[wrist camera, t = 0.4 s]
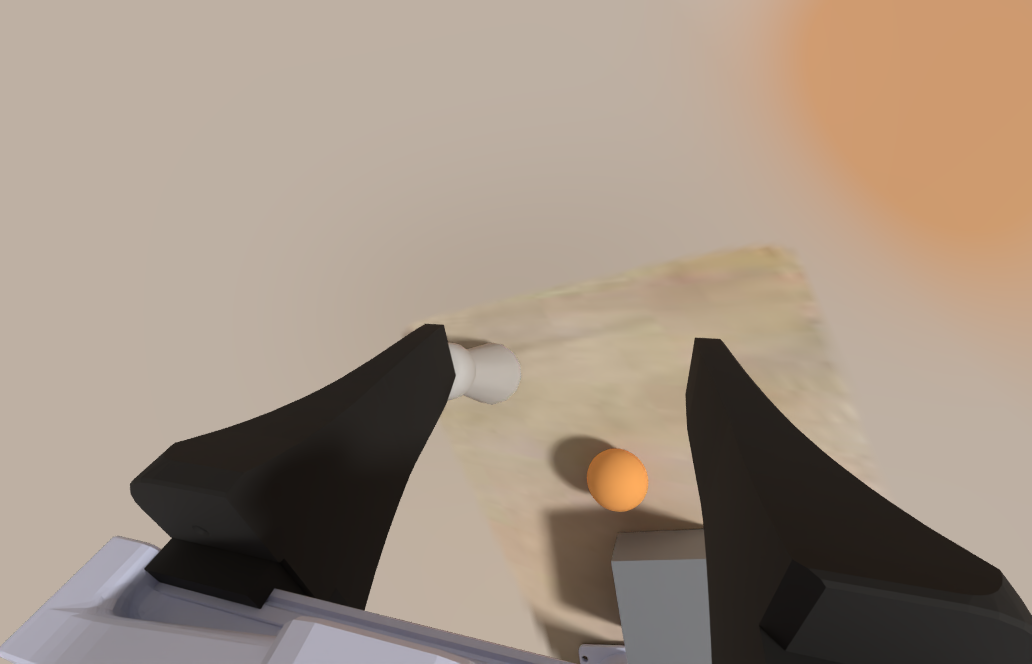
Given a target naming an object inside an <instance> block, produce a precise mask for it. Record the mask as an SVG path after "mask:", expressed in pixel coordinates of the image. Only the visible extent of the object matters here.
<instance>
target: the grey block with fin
mask: <svg viewBox="0 0 1032 664" xmlns="http://www.w3.org/2000/svg"><path fill="white" fill-rule="evenodd" d="M611 565H612V571H613V577H614V583H615V589H616V595H617V602H618V608H619V614H620V620H621V626H622V632H623V638H624V645H625V651H626V657H627V663H628V664H712V659H711V636H710V617H709V597H708V582H707V566H706V552H705V539H704V529H690V530H667V531H643V532H620V533H618V534H617V539H616V543H615V547H614V551H613V555H612V559H611Z"/></svg>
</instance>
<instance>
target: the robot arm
mask: <svg viewBox="0 0 1032 664" xmlns="http://www.w3.org/2000/svg"><path fill="white" fill-rule="evenodd" d="M455 377H456V373H455V369H454V365H453V361H452V357H451V353H450V349H449V345H448V340H447V336H446V332H445V328H444V325H438V324H425V325H423V326H421V327H419V328H418V329H416V330H415V331H413V332H411V333H410V334H408V335H407V336H405V337H404V338H402V339H401V340H400V341H398V342H397V343H395V344H394V345H392V346H391V347H389V348H388V349H386V350H385V351H383V352H382V353H380V354H379V355H377V356H376V357H374V358H373V359H371V360H370V361H368V362H366V363H365V364H363V365H361V366H360V367H358V368H357V369H355V370H353V371H352V372H350V373H348V374H347V375H345V376H344V377H342V378H340V379H338V380H337V381H335V382H333V383H331V384H330V385H327V386H326V387H324V388H322V389H320V390H318V391H316V392H314V393H312V394H310V395H308V396H306V397H304V398H302V399H299V400H297V401H294V402H292V403H290V404H288V405H285V406H283V407H281V408H278V409H276V410H274V411H272V412H269V413H267V414H264V415H261V416H259V417H256V418H253V419H251V420H248V421H245V422H242V423H240V424H237V425H234V426H231V427H228V428H225V429H221V430H218V431H215V432H211V433H208V434H205V435H201V436H198V437H194V438H191V439H187V440H184V441H180V442H177V443H174V444H173V445H172V446H170V447H169V448H168V449H167V450H166V451H165V452H164V453H163V454H162V455H161V456H159V457H158V458H157V459H156V460H155V461H154V462H153V463H152V464H150V465H149V466H148V467H147V468H146V469H145V470H144V471H143V472H141V473H140V474H139V475H138V476H137V477H136V478H135V479H134V480H133V481H132V482H131V483H130V491H131V495H132V497H133V499H134V500H135V502H136V503H137V504H138V505H139V506H140V507H141V509H142V510H143V511H144V512H145V513H146V514H148V515H149V516H150V517H151V518H152V519H153V520H154V521H155V522H156V523H157V524H158V525H159V526H160V527H161V528H162V529H163V530H164V531H165V532H166V533H167V534H168V535H169V536H170V537H172V539H171V540H170V541H169V542H168V543H167V544H166V545H165V546H164V548H163V549H162V550H161V549H160V548H158V547H156V546H155V545H152V544H150V543H147V542H143V541H138V540H134V539H130V538H125V537H122V536H116V537H113V538H112V539H111V540H110V541H109V542H107V544H106V545H104V546H103V547H102V549H100V550H99V551H98V552H97V553H96V554H95V555H94V556H93V557H92V558H91V559H90V560H89V561H88V562H87V563H86V564H85V565H84V566H83V567H82V568H81V569H80V570H79V571H78V572H77V573H76V574H74V576H73V577H72V578H70V579H69V580H68V581H67V582H66V583H65V584H64V585H63V586H62V587H61V588H60V589H59V590H58V591H57V592H56V593H55V594H54V595H53V596H52V597H51V598H50V599H49V600H48V601H47V602H46V603H45V604H44V605H43V606H41V607H40V608H39V609H38V611H36V612H35V613H34V614H33V615H32V616H31V617H30V618H29V619H28V620H27V621H26V622H25V623H24V624H23V625H22V626H21V627H20V628H19V629H18V630H17V631H16V632H15V633H14V634H13V635H11V636H10V638H8V639H7V640H6V641H5V642H4V643H3V644H2V645H1V646H0V657H1V658H3V659H6V660H8V661H10V662H12V663H14V664H576V663H572V662H568V661H564V660H560V659H556V658H552V657H548V656H544V655H540V654H536V653H532V652H527V651H523V650H519V649H516V648H512V647H507V646H504V645H500V644H496V643H492V642H488V641H484V640H480V639H476V638H472V637H467V636H463V635H459V634H456V633H452V632H448V631H444V630H439V629H435V628H432V627H428V626H424V625H420V624H415V623H412V622H407V621H404V620H400V619H396V618H391V617H387V616H383V615H379V614H375V613H371V612H367V611H364V610H365V606H366V603H367V600H368V596H369V593H370V589H371V586H372V582H373V579H374V575H375V571H376V568H377V566H378V562H379V559H380V556H381V553H382V550H383V547H384V544H385V541H386V538H387V535H388V532H389V529H390V526H391V523H392V521H393V518H394V515H395V512H396V510H397V507H398V504H399V501H400V499H401V497H402V494H403V491H404V489H405V486H406V484H407V481H408V479H409V476H410V474H411V472H412V469H413V468H414V465H415V463H416V461H417V459H418V457H419V455H420V454H421V451H422V450H423V448H424V446H425V444H426V442H427V440H428V438H429V436H430V435H431V433H432V431H433V429H434V427H435V425H436V423H437V421H438V419H439V417H440V415H441V413H442V411H443V409H444V407H445V405H446V403H447V401H448V398H449V395H450V392H451V389H452V386H453V383H454V380H455ZM686 416H687V430H688V436H689V441H690V447H691V452H692V458H693V463H694V469H695V474H696V480H697V485H698V491H699V496H700V502H701V508H702V516H703V525H704V539H705V552H706V566H707V582H708V597H709V617H710V636H711V659H712V664H1032V615H1031V614H1030V612H1029V610H1028V609H1027V607H1026V606H1025V604H1024V602H1023V601H1022V599H1021V598H1020V596H1019V595H1018V594H1017V593H1016V591H1015V590H1014V588H1013V587H1012V586H1011V584H1010V583H1009V582H1008V580H1007V579H1006V577H1005V576H1004V575H1003V573H1002V572H1001V571H1000V570H999V569H997V568H996V567H994V566H993V565H991V564H989V563H988V562H986V561H984V560H983V559H981V558H979V557H977V556H976V555H974V554H972V553H971V552H969V551H967V550H966V549H964V548H962V547H961V546H959V545H957V544H956V543H954V542H952V541H951V540H949V539H947V538H945V537H944V536H942V535H941V534H939V533H937V532H935V531H934V530H932V529H931V528H929V527H927V526H926V525H924V524H923V523H921V522H920V521H918V520H917V519H915V518H914V517H912V516H911V515H909V514H908V513H906V512H904V511H903V510H902V509H900V508H899V507H897V506H896V505H894V504H893V503H891V502H890V501H888V500H887V499H885V498H884V497H882V496H881V495H880V494H878V493H877V492H875V491H874V490H872V489H871V488H870V487H868V486H867V485H866V484H864V483H863V482H862V481H860V480H859V479H858V478H856V477H855V476H854V475H852V474H851V473H850V472H848V471H847V470H846V469H845V468H843V467H842V466H841V465H839V464H838V463H837V462H836V461H834V460H833V459H832V458H831V457H829V456H828V455H827V454H826V453H824V452H823V451H822V450H821V449H820V448H819V447H818V446H816V445H815V444H814V443H813V442H812V441H811V440H810V439H808V438H807V437H806V436H805V435H804V434H803V433H802V432H801V431H799V430H798V429H797V428H796V427H795V426H794V425H793V424H792V423H791V422H790V421H789V420H788V419H787V418H786V417H785V416H784V415H783V414H782V413H781V412H780V411H779V409H778V408H777V407H776V406H775V405H774V404H773V403H772V402H771V401H770V400H769V399H768V398H767V396H766V395H765V394H764V393H763V392H762V391H761V389H760V388H759V387H758V386H757V385H756V384H755V383H754V381H753V380H752V379H751V378H750V377H749V375H748V374H747V373H746V372H745V370H744V369H743V368H742V366H741V365H740V364H739V363H738V361H737V360H736V359H735V357H734V356H733V355H732V353H731V352H730V351H729V349H728V348H727V347H726V345H725V344H724V343H723V342H722V340H721V339H710V338H695V341H694V347H693V353H692V359H691V365H690V371H689V377H688V383H687V389H686ZM583 656H586V657H588V659H587V660H586V659H584V658H583ZM579 658H580V664H628V663H627V657H626V651H625V645H596V644H582V645H581V646H580V647H579Z"/></svg>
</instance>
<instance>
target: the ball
mask: <svg viewBox="0 0 1032 664" xmlns="http://www.w3.org/2000/svg"><path fill="white" fill-rule="evenodd" d="M587 484H588V488H589V491H590V493H591V495H592V496H593V498H594V499H595V500H596V501H597V502H598V503H599V504H600V505H601V506H603V507H604V508H606V509H609V510H611V511H616V512H623V511H628V510H631V509H633V508H635V507H636V506H638V505H639V504H640V503H641V502H642V500H643V499H644V497H645V495H646V493H647V489H648V476H647V472H646V470H645V467H644V465H643V464H642V462H641V461H640V460H639V459H638V458H637V457H636V456H635V455H633V454H632V453H630V452H628V451H626V450H622V449H608V450H605V451H603V452H601V453H599V454H598V455H597V456H596V457H595V458H594V459H593V460H592V462H591V463H590V465H589V468H588V472H587Z"/></svg>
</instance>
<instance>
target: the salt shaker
mask: <svg viewBox="0 0 1032 664" xmlns="http://www.w3.org/2000/svg"><path fill="white" fill-rule="evenodd" d="M448 345H449V349H450V353H451V357H452V361H453V365H454V369H455V373H456V377H455V380H454V383H453V386H452V389H451V392H450V395H449V398H448V400H452V399H455V398H458V397H461V396H462V395H465V396H467V397H469V398H472V399H474V400H477V401H479V402H483V403H487V404H492V405H493V404H496V403H499V402H503V401H506V400H507V399H508V398H509V397H510V396H511V395H512V394H513V393H515V392H516V390H517V388H518V385H519V383H520V380H521V366H520V363H519V361H518V359H517V357H516V355H515V354H514V353H513V352H512V351H511V350H509V349H508V348H507V347H505V346H504V345H502V344H496V343H487V344H483V345H479V346H476V347H472V348H469V349H465V348H464V347H462V346H461V345H460V344H456V343H450V342H448Z"/></svg>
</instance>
